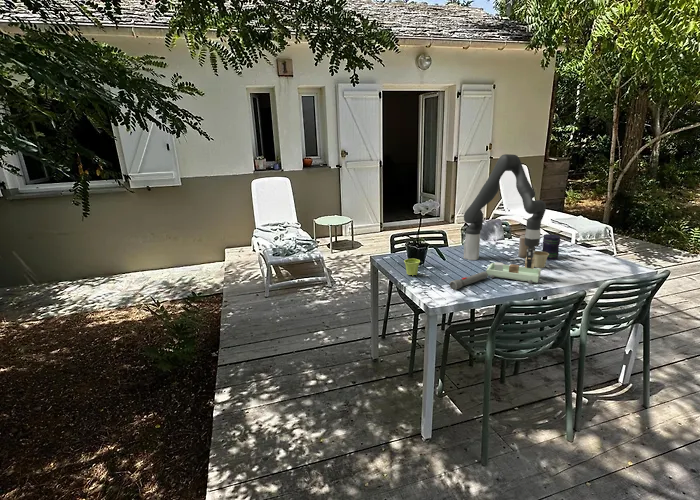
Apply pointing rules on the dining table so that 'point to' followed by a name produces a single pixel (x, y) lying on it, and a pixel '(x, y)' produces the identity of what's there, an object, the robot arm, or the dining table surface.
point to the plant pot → (412, 266)
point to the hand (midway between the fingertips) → (529, 266)
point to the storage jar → (551, 246)
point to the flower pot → (540, 259)
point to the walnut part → (514, 268)
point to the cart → (523, 274)
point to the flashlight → (467, 280)
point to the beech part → (532, 263)
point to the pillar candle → (522, 247)
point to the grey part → (498, 266)
